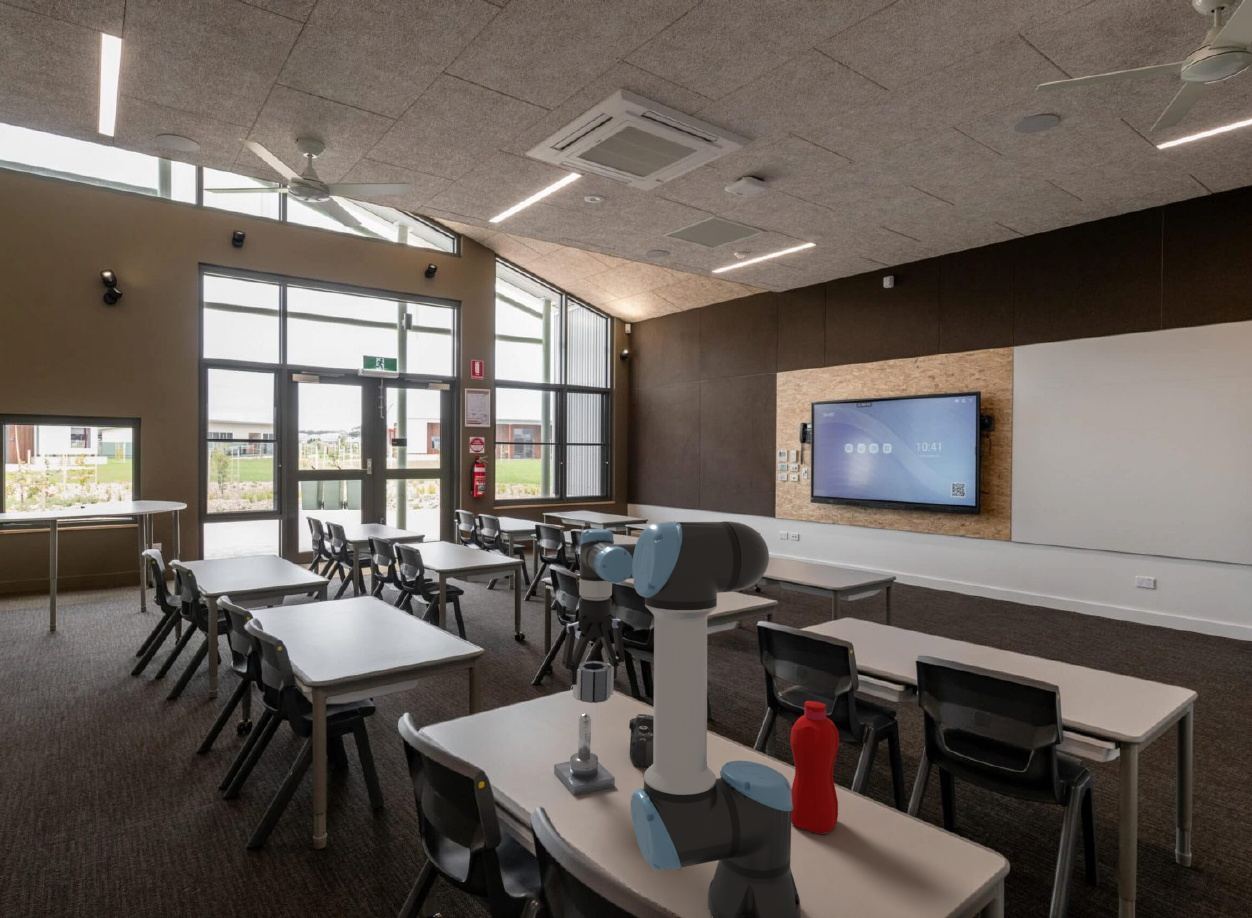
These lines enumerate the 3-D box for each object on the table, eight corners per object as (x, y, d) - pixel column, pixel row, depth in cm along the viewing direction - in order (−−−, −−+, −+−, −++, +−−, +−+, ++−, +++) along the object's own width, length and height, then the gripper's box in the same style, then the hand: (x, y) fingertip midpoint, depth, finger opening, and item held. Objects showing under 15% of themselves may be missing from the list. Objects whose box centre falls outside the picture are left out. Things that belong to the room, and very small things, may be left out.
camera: (672, 764, 168) (673, 723, 168) (634, 770, 164) (635, 728, 164) (651, 742, 180) (652, 705, 180) (616, 747, 177) (617, 709, 177)
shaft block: (614, 786, 156) (615, 719, 156) (574, 795, 151) (575, 726, 151) (592, 764, 167) (593, 702, 166) (554, 772, 162) (555, 708, 162)
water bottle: (842, 815, 145) (845, 697, 145) (829, 840, 136) (832, 714, 135) (799, 803, 150) (802, 689, 150) (784, 826, 140) (786, 704, 140)
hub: (614, 699, 156) (615, 669, 156) (584, 704, 153) (585, 673, 153) (601, 688, 163) (601, 659, 163) (571, 693, 159) (572, 663, 159)
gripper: (627, 590, 165) (625, 684, 166) (547, 596, 156) (545, 696, 157) (642, 596, 159) (639, 694, 159) (559, 603, 149) (557, 707, 150)
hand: (593, 695), depth 158 cm, fingers closed on hub, 7 cm apart
